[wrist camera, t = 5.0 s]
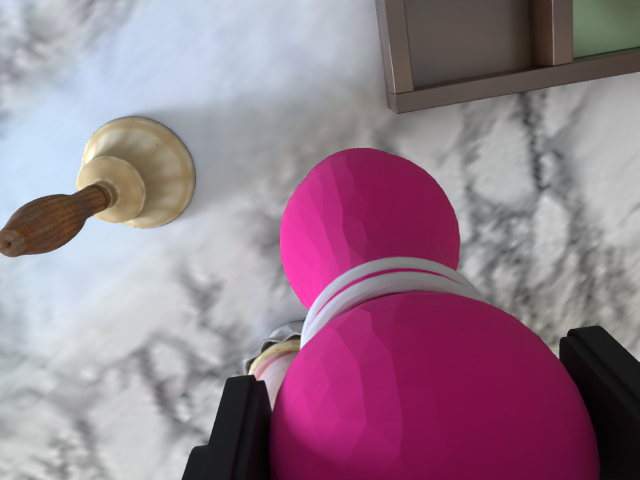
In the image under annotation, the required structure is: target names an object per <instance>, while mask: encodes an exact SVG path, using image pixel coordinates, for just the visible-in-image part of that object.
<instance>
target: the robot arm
mask: <svg viewBox="0 0 640 480" xmlns="http://www.w3.org/2000/svg"><path fill="white" fill-rule="evenodd" d="M559 360H560V361H561V362H562V364H563V365H564V367H565V368H566V370H567V372H568V373H569V375H570V376H571V378H572V379H573V381H574V383H575V384H576V386H577V387H578V390H579V392H580V394H581V397H582V399H583V401H584V404H585V406H586V408H587V411H588V413H589V416H590V419H591V422H592V425H593V428H594V431H595V434H596V440H597V447H598V453H599V460H600V475H599V480H640V362H639V361H637V360H636V359H635V358H634V357H633V356H632V355H631V354H630V353H629V352H628V351H627V350H626V349H625V348H624V347H623V346H622V345H621V344H619V343H618V342H617V341H616V340H615V339H614V338H613V337H612V336H611V335H610V334H609V333H608V332H607V331H606V330H605V329H604V328H602V327H601V326H597V325H596V326H589V327H582V328H575V329H570V330H569V331H568V333H567V337H562V338H561V339H560V344H559ZM271 416H272V408H271V404H270V399H269V395H268V391H267V387H266V383H265V381H264V380H258V381H257V380H256V377H255V375H253V374H251V375H244V376H237V377H230V378H227V380H226V383H225V387H224V390H223V394H222V397H221V401H220V405H219V408H218V412H217V415H216V419H215V422H214V426H213V429H212V433H211V436H210V440H209V443H208V445H203V446H196V447H194V448H193V449H192V451H191V453H190V455H189V458H188V462H187V465H186V468H185V471H184V474H183V477H182V480H271V478H270V460H269V426H270V421H271Z"/></svg>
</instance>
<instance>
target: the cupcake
mask: <svg viewBox="0 0 640 480" xmlns="http://www.w3.org/2000/svg"><path fill="white" fill-rule="evenodd" d="M304 322H305V321H296V322H289V323H287V324H284V325H282V326H280V327H278V328H277V329H275V330H274V331H273V332H272V333H271V334H270V335H269V337H268V338H267V339H264V340H263V341H262V343H261V345H260V348H259V350H258V351H257V352H255V353H254V354H252V355H251V356H250V357H248V358H247V359H245V360H244V361H243V364H242V369H243V372H244V375H251V374H253V375H255V377H256V380H257V381H258V380H264V381H265V383H266V387H267V391H268V395H269V399H270V404H271V408H272V412H273V407H274V403H275V399H276V395H277V393H278V390H279V388H280V386H281V383H282V381H283V379H284V377H285V374H286V372H287V370H288V367H289V366H290V364H291V363H292V362H293V360H294V359H295V357H296V356H297V354H298V353H299V351H300V342H301V334H302V329H303V325H304Z"/></svg>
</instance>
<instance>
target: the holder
mask: <svg viewBox="0 0 640 480" xmlns="http://www.w3.org/2000/svg"><path fill="white" fill-rule="evenodd" d="M375 2H376V11H377V19H378V27H379V35H380V43H381V51H382V59H383V68H384V76H385V84H386V92H387V100H388V108H389V109H390V110H392V111H394V112H395V113H397V114H400V113H406V112H411V111H417V110H423V109H428V108H434V107H440V106H446V105H451V104H457V103H463V102H468V101H474V100H480V99H486V98H491V97H497V96H503V95H509V94H514V93H520V92H526V91H531V90H537V89H543V88H549V87H554V86H560V85H566V84H571V83H577V82H583V81H589V80H594V79H600V78H606V77H611V76H617V75H623V74H629V73H634V72H640V0H375Z"/></svg>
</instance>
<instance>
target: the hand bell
mask: <svg viewBox="0 0 640 480" xmlns="http://www.w3.org/2000/svg"><path fill="white" fill-rule="evenodd" d="M194 189H195V170H194V165H193V162H192V159H191V156H190V154H189V152H188V150H187V149H186V147H185V145H184V144H183V143H182V141H181V140H180V139H179V138H178V137H177V136H176V135H175V134H174V133H173V132H172V131H171V130H169V129H168V128H166V127H165V126H163V125H162V124H160V123H157V122H155V121H152V120H149V119H146V118H141V117H123V118H118V119H115V120H112V121H110V122H108V123H106V124H104V125H103V126H101V127H100V128H99V129H98V130H97V131H96V132H95V133H94V134H93V135H92V136H91V138H90V139H89V141H88V143H87V145H86V147H85V150H84V154H83V159H82V169H81V170H80V172H79V175H78V178H77V192H76V193H74V194H72V195H65V194H56V195H49V196H45V197H41V198H38V199H35V200H33V201H31V202H29V203H27V204H25V205H23V206H22V207H21V208H19V209H18V210H17V211H16V212H15V213H14V214H13V215H12V216H11V218H10V219H9V221H8V222H7V224H6V225H5V227H4V228H3V229H2V230H1V231H0V253H1V254H3V255H5V256H7V257H17V256H20V255H32V254H42V253H47V252H50V251H53V250H55V249H57V248H59V247H61V246H63V245H65V244H66V243H68V242H69V241H70V240H71V239H72V238H74V237H75V236H76V235H77V234H78V233H79V231H80V230H81V229H82V227H83V226H84V224H85V221H86V219H87V218H89V217H91V216H94V217H96V218H98V219H100V220H102V221H105V222H109V223H122V224H124V225H127V226H131V227H135V228H155V227H159V226H163V225H165V224H168V223H170V222H172V221H173V220H175V219H176V218H177V217H179V216H180V215H181V214H182V213H183V211H184V210H185V209H186V208H187V206H188V205H189V203H190V201H191V199H192V196H193V193H194Z"/></svg>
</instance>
